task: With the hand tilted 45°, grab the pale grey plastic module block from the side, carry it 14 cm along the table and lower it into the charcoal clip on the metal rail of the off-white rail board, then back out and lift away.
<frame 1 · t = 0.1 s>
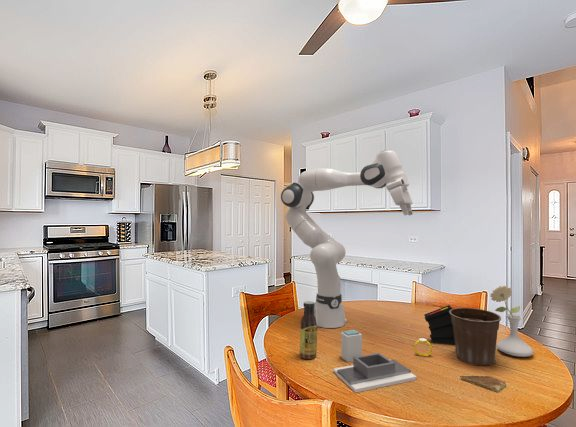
hand: (408, 214, 140), 52 cm above the table, tool tilted 20°, fingers open, 8 cm apart
flower in vase: (511, 353, 122), on the table
shard: (485, 387, 99), on the table
module block: (351, 358, 119), on the table
watch: (423, 355, 121), on the table
sauce bottle: (308, 357, 121), on the table
magazine: (442, 343, 133), on the table
rail holder: (373, 375, 106), on the table
plant pot: (475, 359, 118), on the table
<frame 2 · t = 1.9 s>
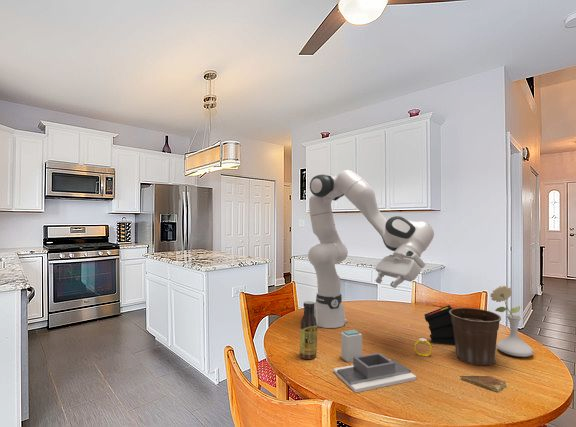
hand: (384, 284, 124), 26 cm above the table, tool tilted 45°, fingers open, 8 cm apart
nothing on the table moved.
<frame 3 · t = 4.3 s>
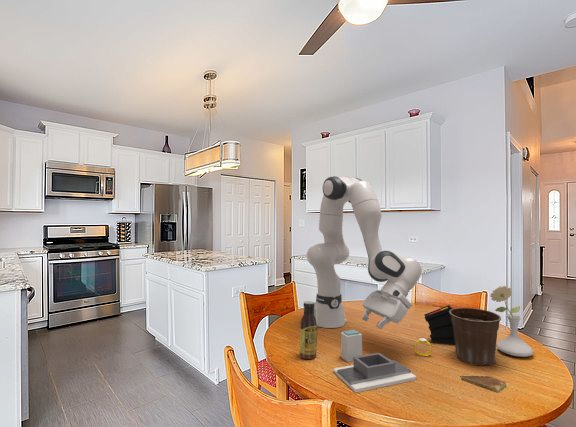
hand: (370, 323, 122), 12 cm above the table, tool tilted 45°, fingers open, 8 cm apart
nothing on the table moved.
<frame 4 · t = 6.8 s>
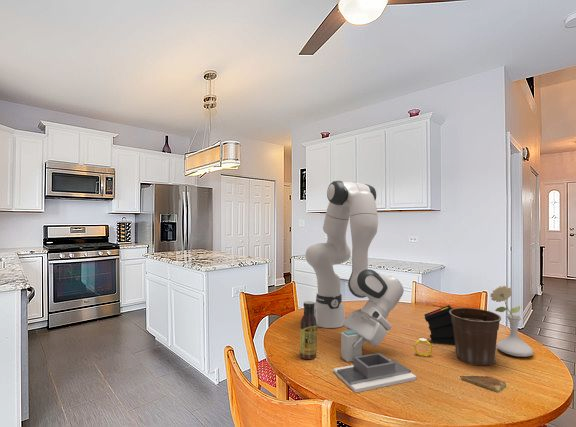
hand: (349, 345, 119), 5 cm above the table, tool tilted 45°, fingers closed on module block, 4 cm apart
module block: (351, 358, 119), on the table, touching gripper
everything else where it was.
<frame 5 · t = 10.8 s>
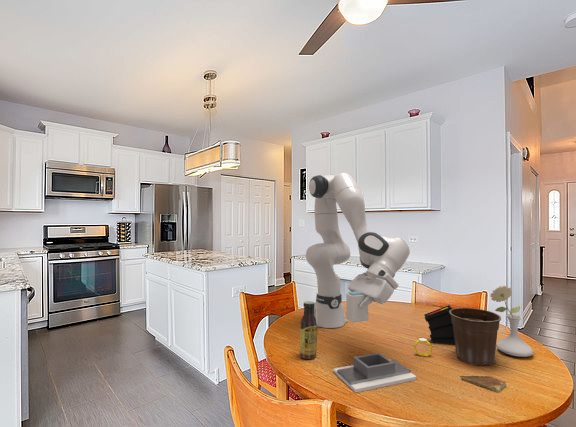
hand: (355, 306, 115), 20 cm above the table, tool tilted 45°, fingers closed on module block, 4 cm apart
module block: (357, 319, 115), point 15 cm above the table, touching gripper
everything else where it was.
when the fingers open (8 cm above the table, at t = 14.8 s): module block stays where it is, resting on rail holder.
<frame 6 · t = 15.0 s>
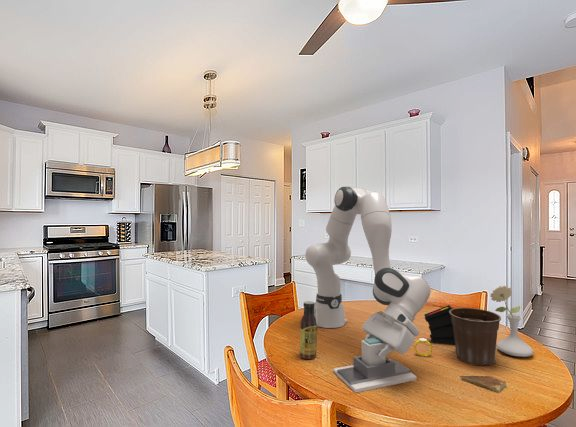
hand: (371, 352, 106), 8 cm above the table, tool tilted 45°, fingers open, 7 cm apart
module block: (373, 369, 106), point 2 cm above the table, touching rail holder
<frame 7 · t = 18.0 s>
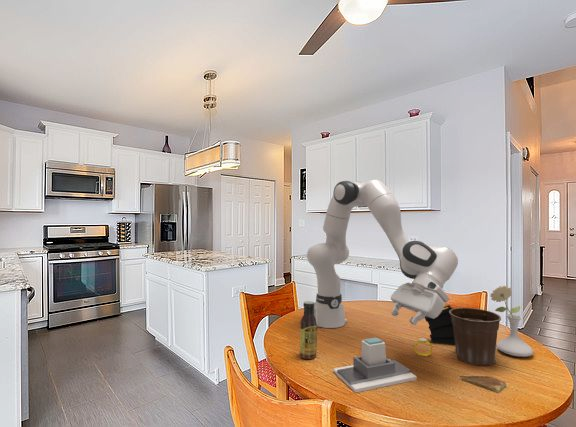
hand: (402, 319, 110), 17 cm above the table, tool tilted 45°, fingers open, 8 cm apart
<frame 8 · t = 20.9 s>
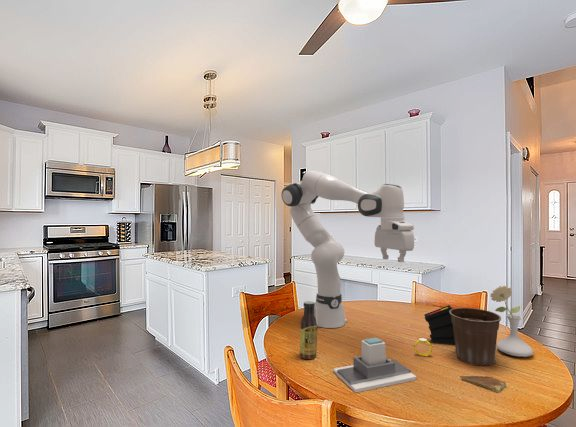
hand: (392, 260, 128), 34 cm above the table, tool pointing down, fingers open, 8 cm apart
at the end: module block 0.1 cm off-centre on the rail holder, point 1.8 cm above the rail holder's base; module block tilted 0°; the gripper is holding nothing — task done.
